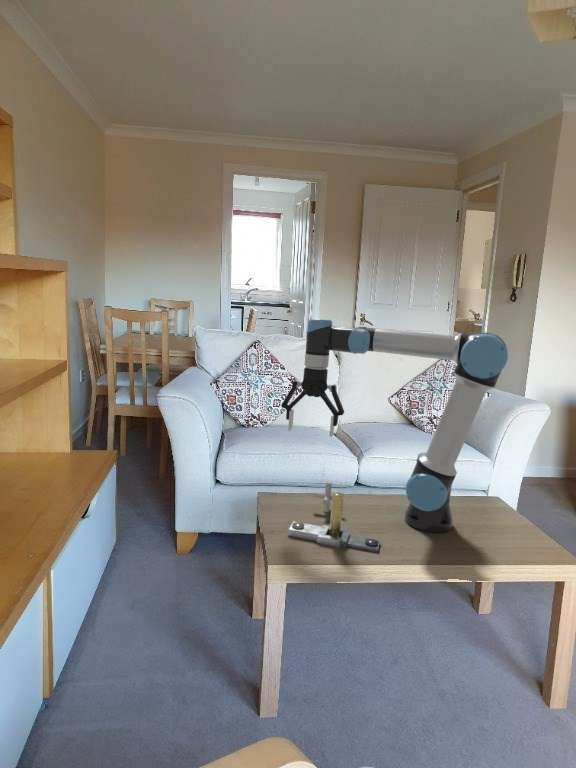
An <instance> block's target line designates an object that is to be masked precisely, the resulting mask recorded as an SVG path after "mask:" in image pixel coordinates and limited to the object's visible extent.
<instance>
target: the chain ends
mask: <svg viewBox="0 0 576 768" xmlns="http://www.w3.org/2000/svg"><path fill="white" fill-rule="evenodd" d="M329 528H330V525H325V524H323V525H321V526H320V525H317V524H316V525H315V524H311V523H303V522H300V521H293V522H292V523H291V524H290V526H289V528H288V531H287V533H288V534H287V536H289V537H294V538H299V539H303V540H310V541H315V542H316V543H317V544H320V545H326V546H331V547H336V548H342V549H347V548H352V549H356V550H357V549H358V550H362V551H368V552H371V553H372V552H374V553H379V549H380V544H381V540H380V539H376V538H369V537H363V536H358V535H354V534H351V529H347V528H342V527H341V529H340V538H339V537H334V536H329Z"/></svg>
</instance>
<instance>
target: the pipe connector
mask: <svg viewBox="0 0 576 768" xmlns="http://www.w3.org/2000/svg"><path fill="white" fill-rule="evenodd" d="M324 490H325V491H324V492H316V491H313V492H312V497H311V498H314V499H319V500H320V499H321V500H323V501H322V504H323V512H324V513H330V506H331V501H332V496H333V490H332V482H331V481H326V482H325V489H324Z"/></svg>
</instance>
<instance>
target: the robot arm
mask: <svg viewBox="0 0 576 768" xmlns="http://www.w3.org/2000/svg"><path fill="white" fill-rule="evenodd" d="M305 340H306V341H305V344H306V345H305V353H304V354H305V355H304V366H305V367H304V369H303V378H302V381H300V380H298V379H296V380H293V381H292V387H291V388H290V390H289V392H288V393H287V395H286V396H285V398H284V400H283V402H282V403H281V404H280V406H281V408H282V409H285V410H286V415H285V419H286V420H287V421H288V424H287V425H288V428H287V431H288V432H291V431H292V430H293V425H294V413H295V410H294V409H293V408H294V407H295V406H296V405H297V403H299V402H300V401H301V400H302V399H303V398H305V396H307V397H309V398H310V397H314V398H319V397H320V398H321V399H322V400H323V402H324V403H325V405H326V406H327V408H328V409H329V410H330V412H331V413H332V415H331V416H330V427H329V437H333V435H334V428H335V427H337V426H338V422H339V417H340V416H343V415H344V414H345V410H344V407H343V405H342V402H341V400H340V397H339V394H338V392H337V384H334V383H333V384H328V372H329V370H328V367H329V360H330V351H332V352H334V351H335V352H343V353H349V354H355V355H356V354H362V355H363V354H366V353H367V352H374V353H375V352H376V353H377V352H378V353H385V354H392V355H393V354H394V355H401V356H410V357H411V356H412V357H419V358H428V359H435V360H436V359H437V360H445V361H453V362H454V363H455V364H456V366H455V369H454V371H453V374H454V376H455V379H456V381H455V383H454V386H453V387H452V388H453V389H452V390H451V393H450V394H449V398H448V400H447V403H446V405H445V407H444V409H443V412H442V414H441V417H440V419H439V422H438V424H437V426H436V429H435V432H434V434H433V436H432V439H431V441H430V444H429V446H428V449H427V450H426V452H420V453H419V454H417V458H416V463H415V466H414V468H413V470H412V473H411V474H410V477H409V479H408V480H407V481H406V485H405V494H406V497H407V499H408V501H409V504H408V506H407V508H406V510H405V513H404V522H406V523H407V524H408V525H409V526H411V527H412V528H414V529H417V530H420V531H423V532H429V533H445V532H449V531H451V530H452V528H453V522H454V520H453V516H452V515H453V514H452V510H451V504H450V503H451V500H450V499H451V494H452V488H453V487H452V486H453V483H454V480H455V478H456V476H457V474H458V472H457V470H456V466H455V464H456V463H457V460H458V457H459V455H460V453H461V451H462V448H463V446H464V443H465V441H466V439H467V437H468V434H469V432H470V431H471V428H472V425H473V423H474V421H475V419H476V417H477V414H478V411H479V409H480V407H481V404H482V402H483V400H484V398H485V395H486V393H487V392H488V391H490V390H493V389H494V388H495V386H496V384H497V382H498V379H500V375H501V372H502V370H503V369H504V368H505V366H506V365H507V362H508V357H509V355H508V352H509V351H508V348H507V345H506V343H505V341H504V340H503V338H501V337H500V336H499V335H497V334H494V333H492V332H481V333H462V332H461V333H458V335H448V334H439V333H438V334H436V333H429V332H428V333H427V332H426V333H425V332H418V331H403V330H396V329H385V328H374V327H367V326H357V327H345V326H344V327H341V326H334V325H333V321H332V320H331V319H326V318H317V317H316V318H313V317H312V318H310V319H308V322H307V329H306V339H305ZM300 386H301V388H302V390H303V391H302V392H301V393H300V394H299V395H298V396H296V398H295V399H294V400H293V401H292V402H291V403H290V404H288V403H289V402H290V401H291V399H292V397H293V395H294V394H295V393H296V391H297V389H298V388H300ZM327 389H328V390H329V392H330V393H331V396H332V397H333V401H334V403H335V405H334V404H333V403H332V401H331V400H330V398H329V396H328V394H327V393H326V391H327ZM335 406H336V407H335Z"/></svg>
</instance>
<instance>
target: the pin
mask: <svg viewBox="0 0 576 768" xmlns="http://www.w3.org/2000/svg"><path fill="white" fill-rule="evenodd" d="M332 495H333V496H332V500H331V508H330V519H329V520H330V521H329V526H330V528H329V535H328V536H334V537H339V538H341V537H340V529H341V528H342V526H341V525H342V518H343V517H342V515H343V507H344V506H343V505H344V493H342V492H338V491H337V492H335V491H334V492H332Z"/></svg>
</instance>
